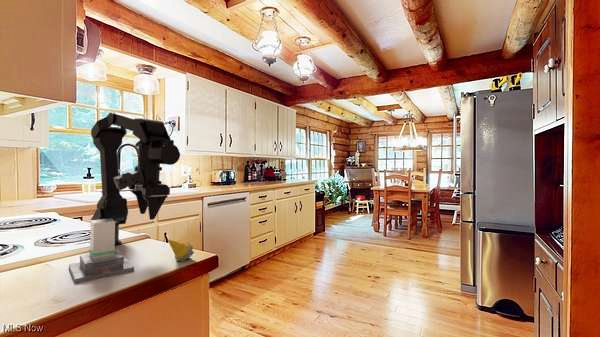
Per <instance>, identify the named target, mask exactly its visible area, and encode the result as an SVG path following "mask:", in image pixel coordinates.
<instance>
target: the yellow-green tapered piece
mask: <svg viewBox="0 0 600 337" xmlns="http://www.w3.org/2000/svg"><path fill="white" fill-rule="evenodd" d="M167 242H168V243H169V245H170V248H171V250H172V252H173V254H174V259H175V260H176V261H177V262H180V261H181V262H184V261H186V260H187V259H190V258H189V257H192V255H194V253H195V252H194V251H193V249H194V248H193V245H192V244H190V243H188V242H186V243H183V242H179V241H176V240H172V239H167Z"/></svg>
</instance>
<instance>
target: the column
mask: <svg viewBox="0 0 600 337" xmlns="http://www.w3.org/2000/svg"><path fill="white" fill-rule="evenodd" d="M89 238H90V241H89V254H90V256H91V258H92V259H93V260H96V259H102V258H108V257H113V256H114V253H115V249H116V247H115V245H116V244H115V221H114V220H113V219H101V220H91V219H90V235H89Z"/></svg>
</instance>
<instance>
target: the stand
mask: <svg viewBox="0 0 600 337" xmlns="http://www.w3.org/2000/svg"><path fill="white" fill-rule="evenodd" d="M68 269H69V272H70V273H71V276H72V279H73V282H74V284H79V283H83V282H87V281H92V280H98V279H102V278H107V277H111V276H117V275H121V274H126V273H131V272H135V266H134V265H133V264H132V263H131V261H129V260H128V259H127V257H125V256H124V255H123V254H121V252H119V250H118V249H116V248H115V253H114V256H113V257H108V258H102V259H96V260H93V259H92V258H91V256H90V253H84V254H80V255H79V262H75V263H69V264H68Z"/></svg>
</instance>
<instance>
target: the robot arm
mask: <svg viewBox="0 0 600 337" xmlns="http://www.w3.org/2000/svg"><path fill="white" fill-rule="evenodd" d="M127 130H128V131H131V132H132V135H134V137H136V138H137V139H138V141H137V142H136V143H135V144H134V146H135V147H136V148H138V149H137V151H138V152H137V153H138V154H137V165H135V166H134V171H130V172H129V171H128V172H125V173H121V175H119V161H118V151H119V148H121V146H122V145H123V139H124V137H125V136H126V135H127V134H128V133H127V132H128V131H127ZM90 135H91V137H92V143H93V146H95V148H96V149H97V150H98V152H99V158H100V159H99V162H100V178H101V196H100V198H99V200H98V201H97V203H96V210H95V211H94V213H93V215H92V217H91V219H90V221H91V220H101V219H113V220H114V221H115V245H121V244H122V243H123V242H122V241H121V240H120V238H119V237H120V235H119V234H120V225H125V224H126V223H127V219H128V214H129V209H128V200H127V198H125V197H123V195H122V194H121V193H120V190H121V191H122V190H125V189H127V188H128V190H129V192H131V193H132V194H133V195H134V196H135V198H136V201H137V205H138V210H139V213H140V215H144V214H146V212H147V209H148V216H149V220H155V218H156V217H157V215H158V213H159V212H160V209H161V208H162V206H163V204H164V202H165V200H166V199H168V197H169V195H171V187H170V186H168V184H165V183H162V182H163V181H162V180H160V172H161V171H163V167H162V166H161V165H167V166H168V165H170V166H172V165H175V164H176V163H177V162H178V161H179V160H180V156H181V153H180V150H179V147H178V146H176V145H175V140H174V139H171V137H170V135H169V133H168V131H167V128H166V126H165V123H164V122H163V121H161V120H154V119H148V118H141V117H140V118H139V117H138V118H137V117H134V116H131V115H128V114H126V113H121V112H115V111H111V112H109V113H108V115H107V116H105V117H103V118H101V119H98V120H97V121H96V122H95V124H94V125H93V127H91V129H90Z"/></svg>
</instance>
